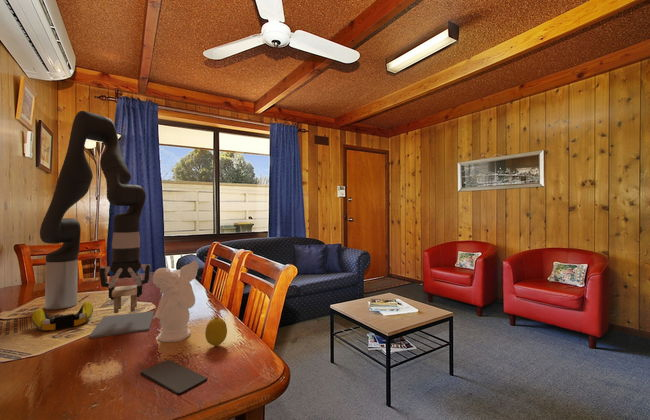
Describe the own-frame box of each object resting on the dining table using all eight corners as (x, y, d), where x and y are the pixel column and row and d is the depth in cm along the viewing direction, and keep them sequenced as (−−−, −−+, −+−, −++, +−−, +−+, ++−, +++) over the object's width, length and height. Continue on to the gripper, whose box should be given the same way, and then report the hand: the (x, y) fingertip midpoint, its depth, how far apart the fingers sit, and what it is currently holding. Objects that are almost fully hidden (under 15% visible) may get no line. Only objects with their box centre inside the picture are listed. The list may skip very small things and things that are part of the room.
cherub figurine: (150, 345, 83) (150, 264, 83) (157, 329, 95) (156, 258, 95) (199, 338, 88) (198, 261, 88) (199, 323, 99) (199, 255, 99)
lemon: (214, 353, 79) (214, 322, 79) (200, 348, 82) (201, 318, 82) (231, 345, 83) (231, 316, 83) (217, 340, 86) (218, 312, 86)
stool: (111, 314, 94) (111, 291, 94) (115, 308, 100) (116, 286, 100) (135, 311, 97) (136, 289, 97) (138, 305, 103) (138, 284, 103)
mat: (103, 318, 103) (103, 316, 103) (154, 312, 110) (154, 310, 110) (88, 338, 87) (88, 336, 87) (149, 330, 93) (149, 328, 93)
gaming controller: (32, 326, 96) (30, 336, 89) (32, 308, 96) (31, 317, 89) (92, 315, 106) (95, 323, 99) (92, 300, 106) (95, 306, 99)
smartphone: (179, 393, 61) (139, 371, 68) (179, 398, 61) (139, 375, 68) (208, 377, 66) (169, 358, 74) (208, 382, 66) (169, 362, 74)
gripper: (152, 244, 105) (152, 293, 105) (102, 245, 99) (101, 297, 99) (150, 246, 98) (150, 298, 98) (96, 248, 92) (95, 304, 92)
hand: (125, 297), depth 98 cm, fingers closed on stool, 6 cm apart
